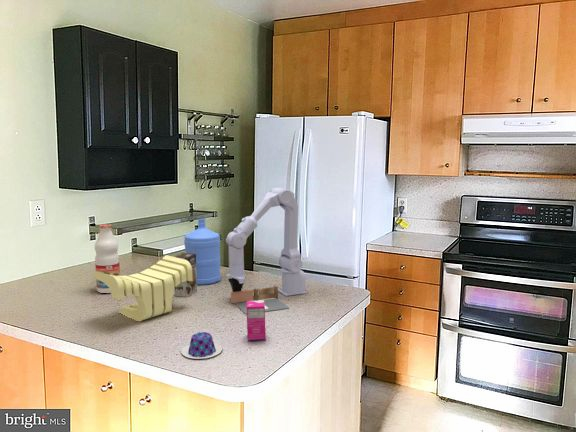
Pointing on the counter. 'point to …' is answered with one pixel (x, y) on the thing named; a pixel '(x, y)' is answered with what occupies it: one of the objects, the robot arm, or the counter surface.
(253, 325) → the supplement box
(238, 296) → the swing panel
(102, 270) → the fruit juice
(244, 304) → the card
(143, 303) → the slatted curved stool
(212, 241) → the water jug
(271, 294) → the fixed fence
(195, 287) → the coffee box
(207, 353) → the pudding
